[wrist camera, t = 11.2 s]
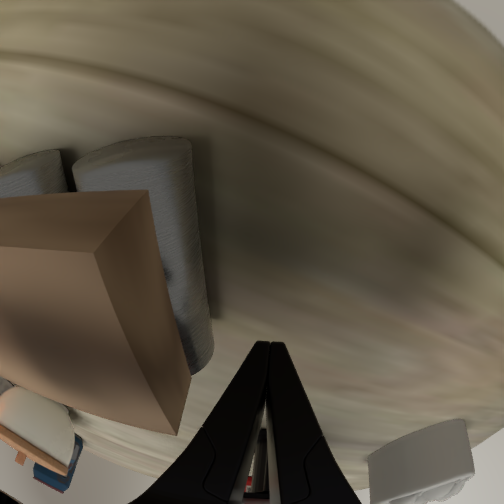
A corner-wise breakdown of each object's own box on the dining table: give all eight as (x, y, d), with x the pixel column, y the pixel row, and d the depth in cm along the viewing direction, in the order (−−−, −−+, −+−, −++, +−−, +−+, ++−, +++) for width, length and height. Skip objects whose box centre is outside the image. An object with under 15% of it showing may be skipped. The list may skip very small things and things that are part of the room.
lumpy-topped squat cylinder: (357, 459, 31) (358, 519, 23) (430, 417, 23) (442, 494, 16) (413, 459, 32) (418, 510, 25) (482, 418, 24) (495, 478, 17)
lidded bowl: (43, 375, 26) (6, 455, 17) (103, 429, 33) (81, 496, 24) (-4, 364, 29) (-36, 424, 20) (49, 414, 36) (26, 468, 27)
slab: (191, 378, 13) (176, 435, 11) (12, 335, 14) (-10, 371, 12) (148, 189, 8) (93, 253, 5) (-53, 204, 9) (-92, 238, 6)
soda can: (50, 426, 41) (30, 476, 31) (51, 419, 37) (29, 475, 27) (82, 443, 43) (65, 494, 33) (87, 439, 39) (68, 496, 29)
